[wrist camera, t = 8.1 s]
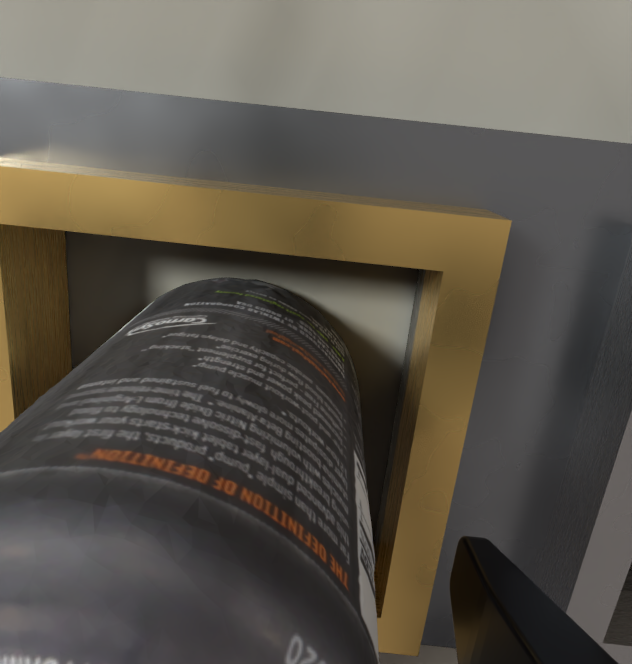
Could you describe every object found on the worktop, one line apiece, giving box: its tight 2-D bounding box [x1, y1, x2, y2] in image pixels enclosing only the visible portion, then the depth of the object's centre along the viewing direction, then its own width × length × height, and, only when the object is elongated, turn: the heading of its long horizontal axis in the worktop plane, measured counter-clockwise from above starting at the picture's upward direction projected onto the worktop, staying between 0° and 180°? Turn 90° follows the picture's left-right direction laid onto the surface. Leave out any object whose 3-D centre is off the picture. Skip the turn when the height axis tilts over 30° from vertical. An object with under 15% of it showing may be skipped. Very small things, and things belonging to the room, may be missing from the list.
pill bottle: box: [0, 278, 379, 664], centre depth 8 cm, size 6×6×11 cm
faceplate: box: [0, 77, 632, 664], centre depth 12 cm, size 13×24×2 cm, turn 84°
